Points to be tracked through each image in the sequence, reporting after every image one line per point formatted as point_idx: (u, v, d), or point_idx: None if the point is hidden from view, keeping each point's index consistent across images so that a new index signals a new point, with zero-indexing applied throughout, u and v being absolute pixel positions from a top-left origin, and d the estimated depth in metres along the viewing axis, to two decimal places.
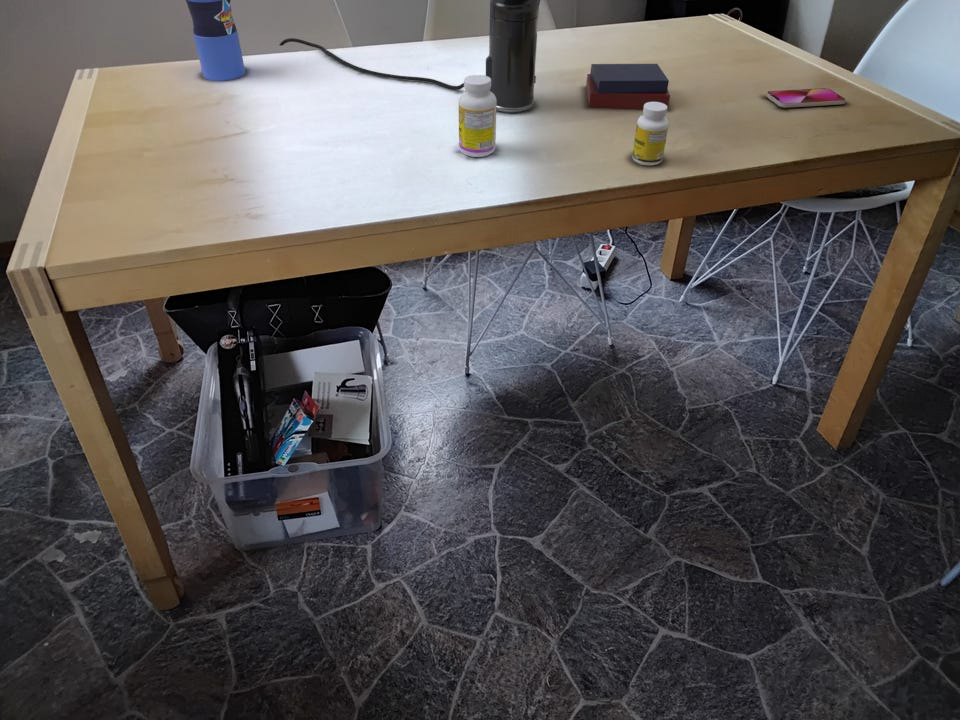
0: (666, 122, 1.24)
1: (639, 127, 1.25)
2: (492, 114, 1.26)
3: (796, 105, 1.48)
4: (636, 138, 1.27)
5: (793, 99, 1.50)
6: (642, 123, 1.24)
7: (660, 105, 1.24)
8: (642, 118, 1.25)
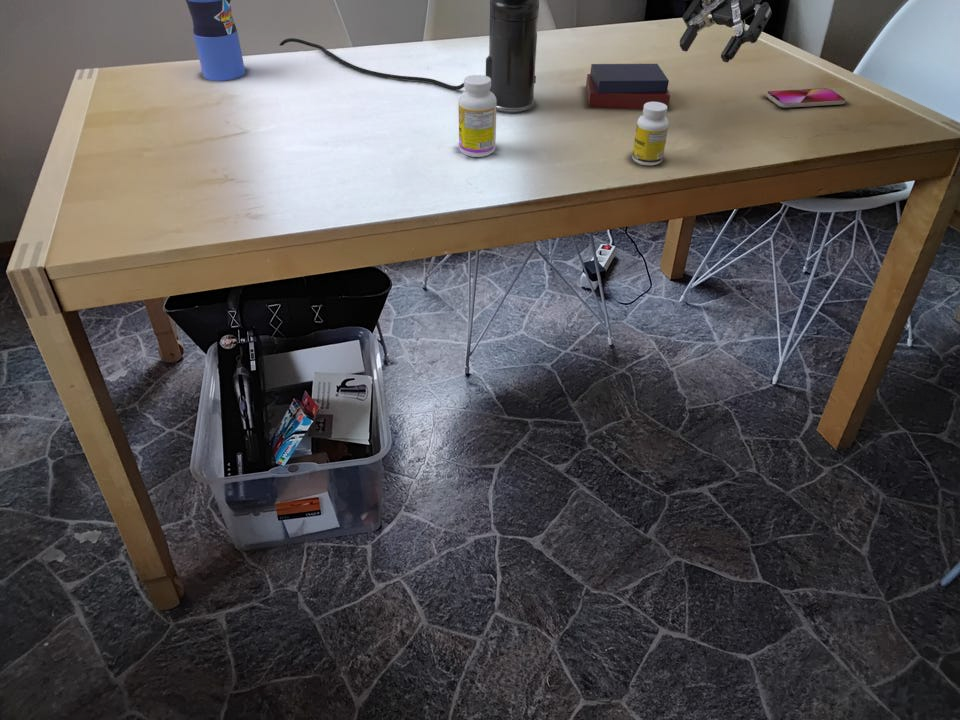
0: (666, 122, 1.24)
1: (639, 127, 1.25)
2: (492, 114, 1.26)
3: (796, 105, 1.48)
4: (636, 138, 1.27)
5: (793, 99, 1.50)
6: (642, 123, 1.24)
7: (660, 105, 1.24)
8: (642, 118, 1.25)
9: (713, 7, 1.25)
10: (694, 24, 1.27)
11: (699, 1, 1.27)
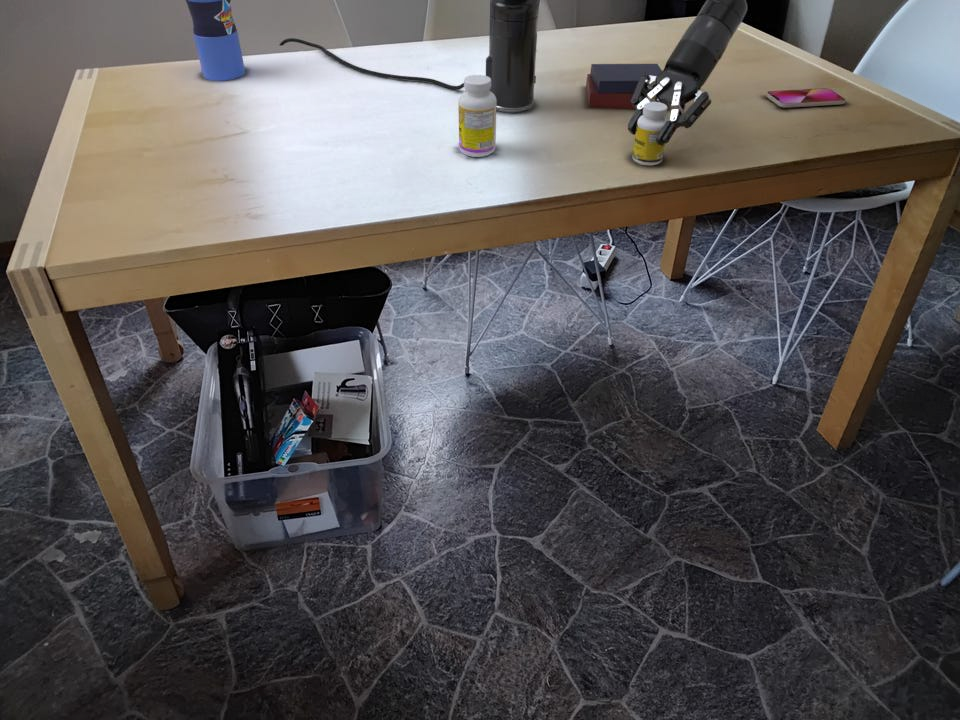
0: None
1: (639, 127, 1.25)
2: (492, 114, 1.26)
3: (796, 105, 1.48)
4: (636, 138, 1.27)
5: (793, 99, 1.50)
6: (642, 123, 1.24)
7: (660, 105, 1.24)
8: (642, 118, 1.25)
9: (659, 89, 1.25)
10: None
11: (644, 83, 1.27)
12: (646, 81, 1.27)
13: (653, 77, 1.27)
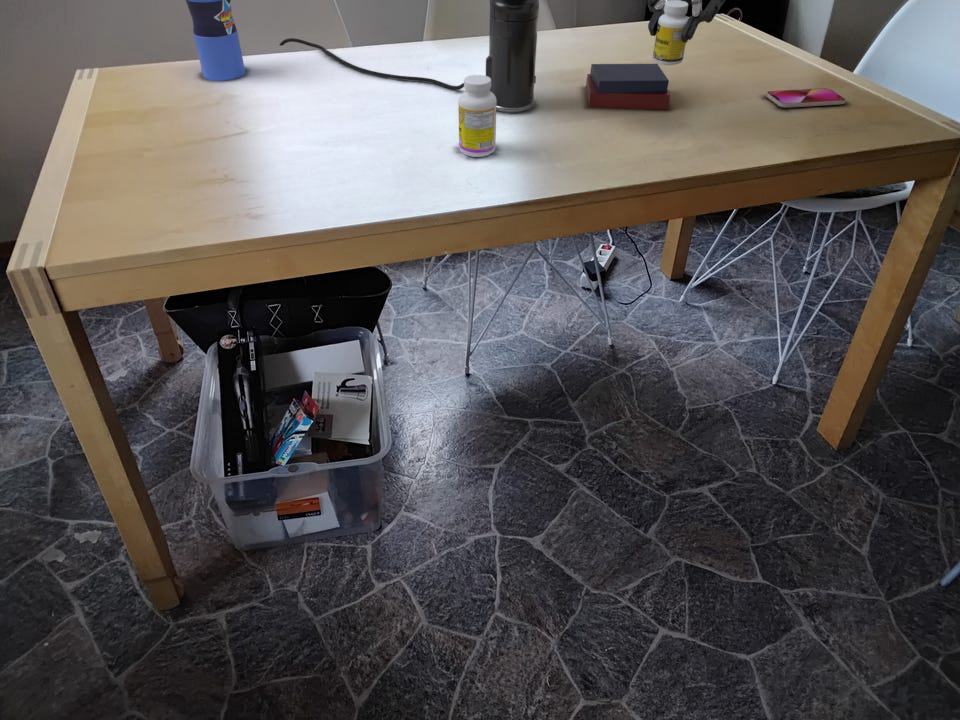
0: None
1: (663, 26, 1.27)
2: (492, 114, 1.26)
3: (796, 105, 1.48)
4: (659, 38, 1.28)
5: (793, 99, 1.50)
6: (665, 22, 1.26)
7: (680, 2, 1.26)
8: (664, 17, 1.27)
9: None
10: (661, 8, 1.28)
11: None
12: None
13: None
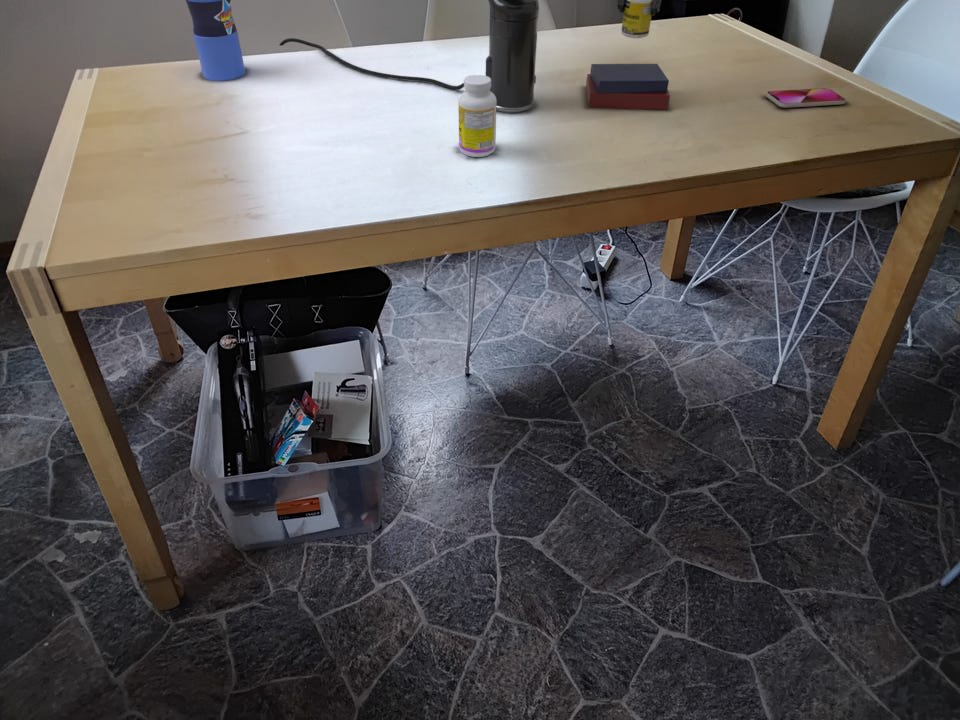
0: None
1: (633, 2, 1.38)
2: (492, 114, 1.26)
3: (796, 105, 1.48)
4: (629, 14, 1.40)
5: (793, 99, 1.50)
6: None
7: None
8: None
9: None
10: None
11: None
12: None
13: None
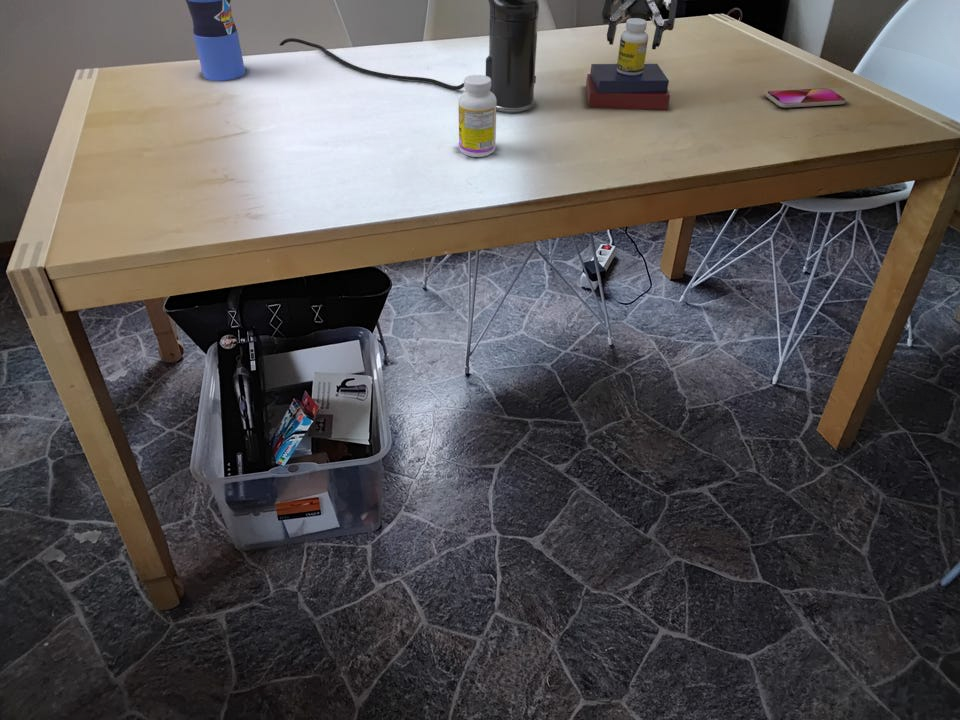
0: None
1: (628, 42, 1.43)
2: (492, 114, 1.26)
3: (796, 105, 1.48)
4: (624, 53, 1.44)
5: (793, 99, 1.50)
6: (630, 38, 1.42)
7: (638, 19, 1.43)
8: (627, 34, 1.43)
9: (629, 3, 1.43)
10: (615, 20, 1.44)
11: None
12: None
13: None
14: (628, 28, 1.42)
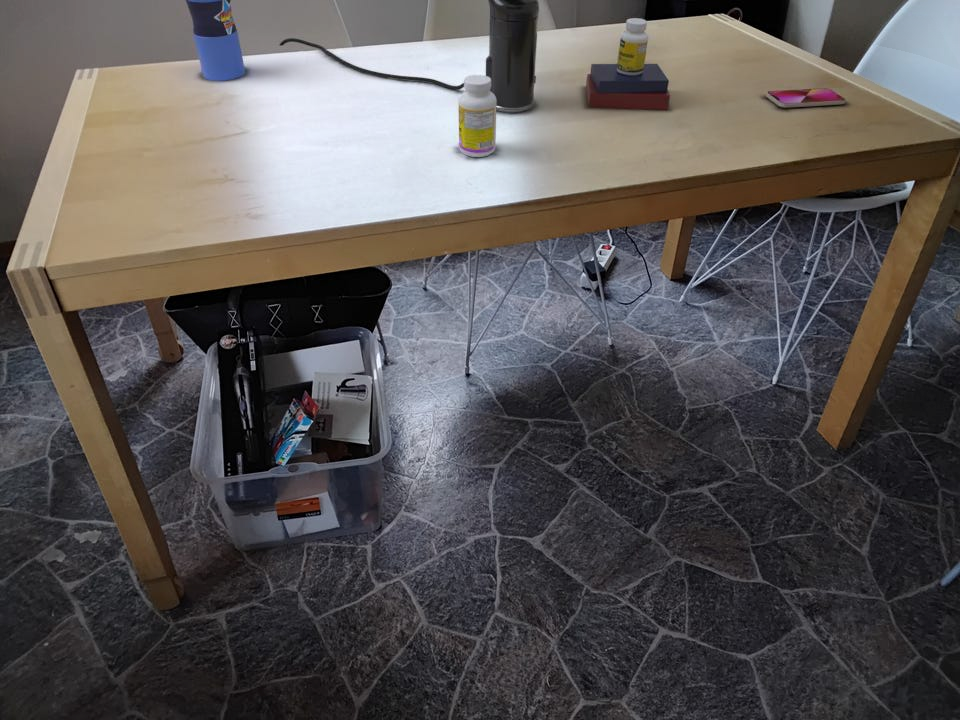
0: None
1: (628, 42, 1.43)
2: (492, 114, 1.26)
3: (796, 105, 1.48)
4: (624, 53, 1.44)
5: (793, 99, 1.50)
6: (630, 38, 1.42)
7: (638, 19, 1.43)
8: (627, 34, 1.43)
9: None
10: None
11: None
12: None
13: None
14: (628, 28, 1.42)
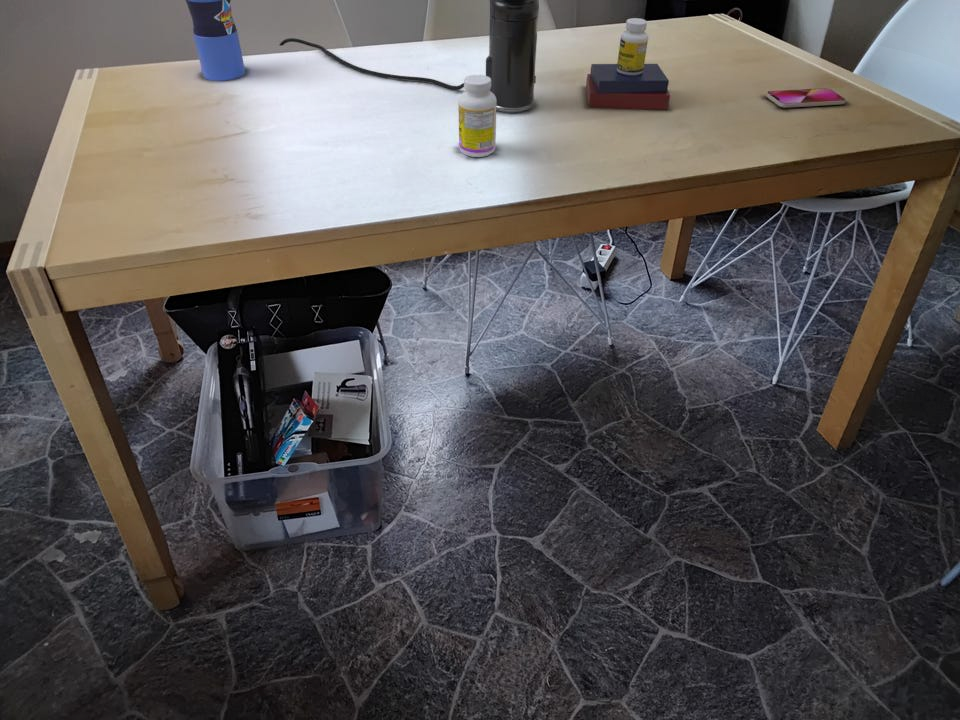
0: None
1: (628, 42, 1.43)
2: (492, 114, 1.26)
3: (796, 105, 1.48)
4: (624, 53, 1.44)
5: (793, 99, 1.50)
6: (630, 38, 1.42)
7: (638, 19, 1.43)
8: (627, 34, 1.43)
9: None
10: None
11: None
12: None
13: None
14: (628, 28, 1.42)
